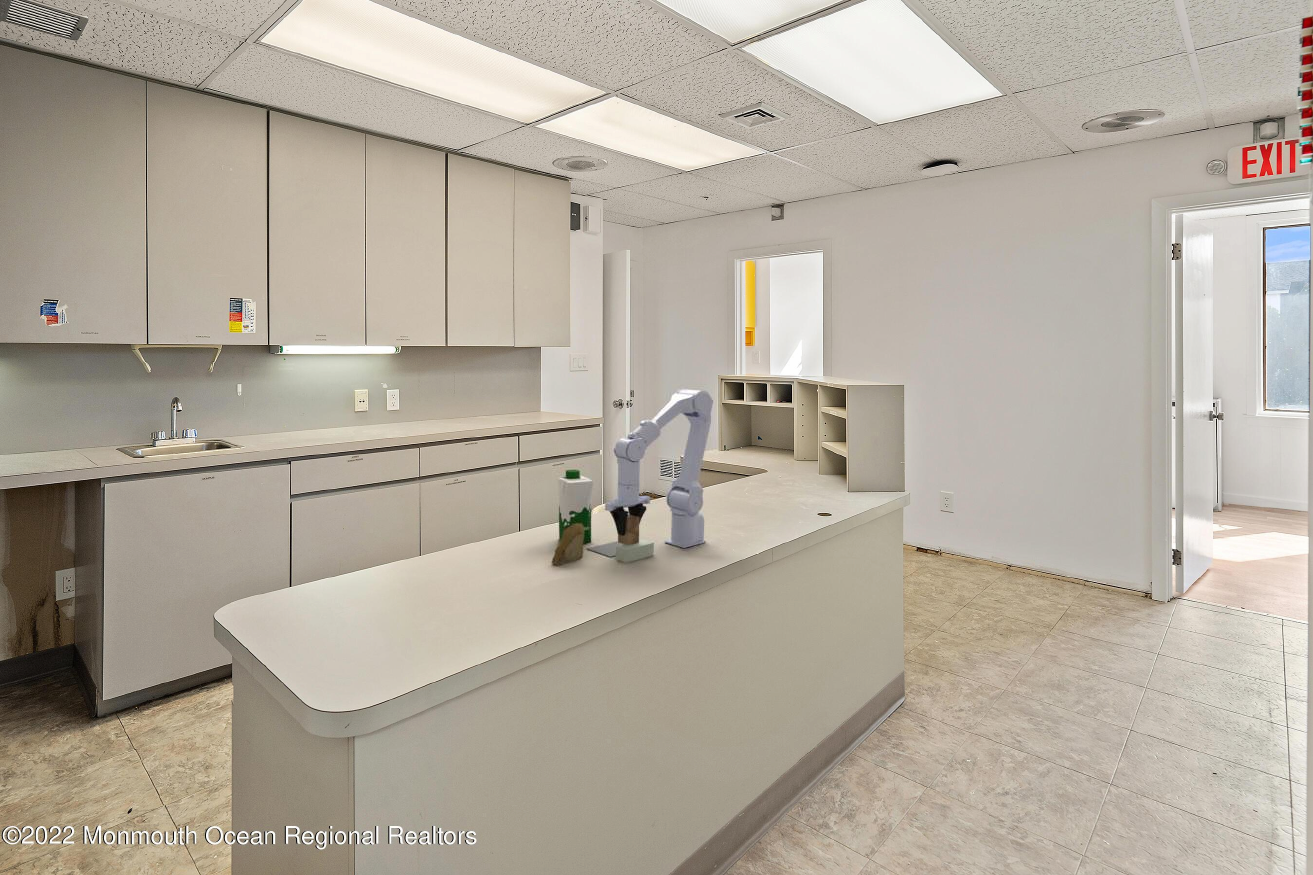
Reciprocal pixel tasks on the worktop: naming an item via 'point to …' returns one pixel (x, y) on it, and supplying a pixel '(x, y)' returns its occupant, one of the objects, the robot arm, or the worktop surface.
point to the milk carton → (575, 502)
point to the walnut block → (630, 531)
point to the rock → (570, 545)
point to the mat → (606, 549)
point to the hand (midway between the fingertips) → (627, 533)
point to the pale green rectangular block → (634, 551)
